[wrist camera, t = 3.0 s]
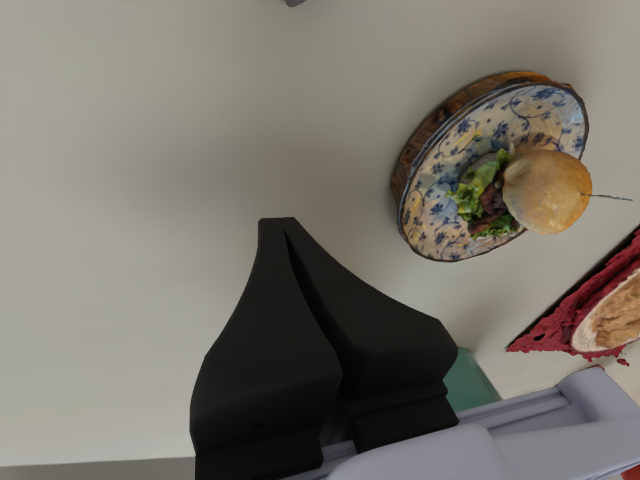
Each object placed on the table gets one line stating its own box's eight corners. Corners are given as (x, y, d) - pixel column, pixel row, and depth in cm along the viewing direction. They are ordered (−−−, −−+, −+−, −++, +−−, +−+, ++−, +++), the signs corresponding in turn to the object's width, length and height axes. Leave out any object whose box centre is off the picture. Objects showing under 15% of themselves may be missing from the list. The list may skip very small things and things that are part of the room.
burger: (349, 199, 19) (409, 295, 13) (524, 10, 15) (720, 33, 9) (448, 268, 26) (516, 350, 20) (586, 153, 21) (718, 216, 16)
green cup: (454, 379, 41) (503, 457, 34) (401, 391, 39) (441, 478, 32) (481, 343, 36) (543, 426, 30) (422, 354, 34) (475, 447, 27)
